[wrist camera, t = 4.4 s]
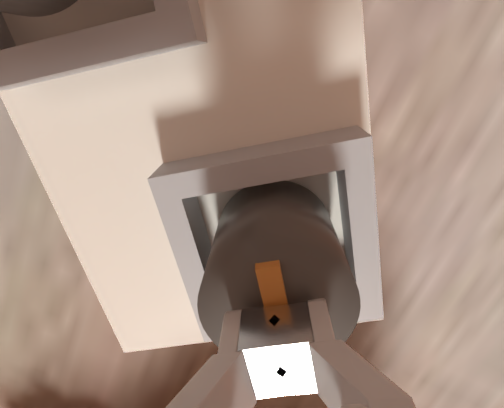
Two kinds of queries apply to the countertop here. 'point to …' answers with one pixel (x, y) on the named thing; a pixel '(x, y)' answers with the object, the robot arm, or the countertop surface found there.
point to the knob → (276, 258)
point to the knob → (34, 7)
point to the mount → (190, 137)
